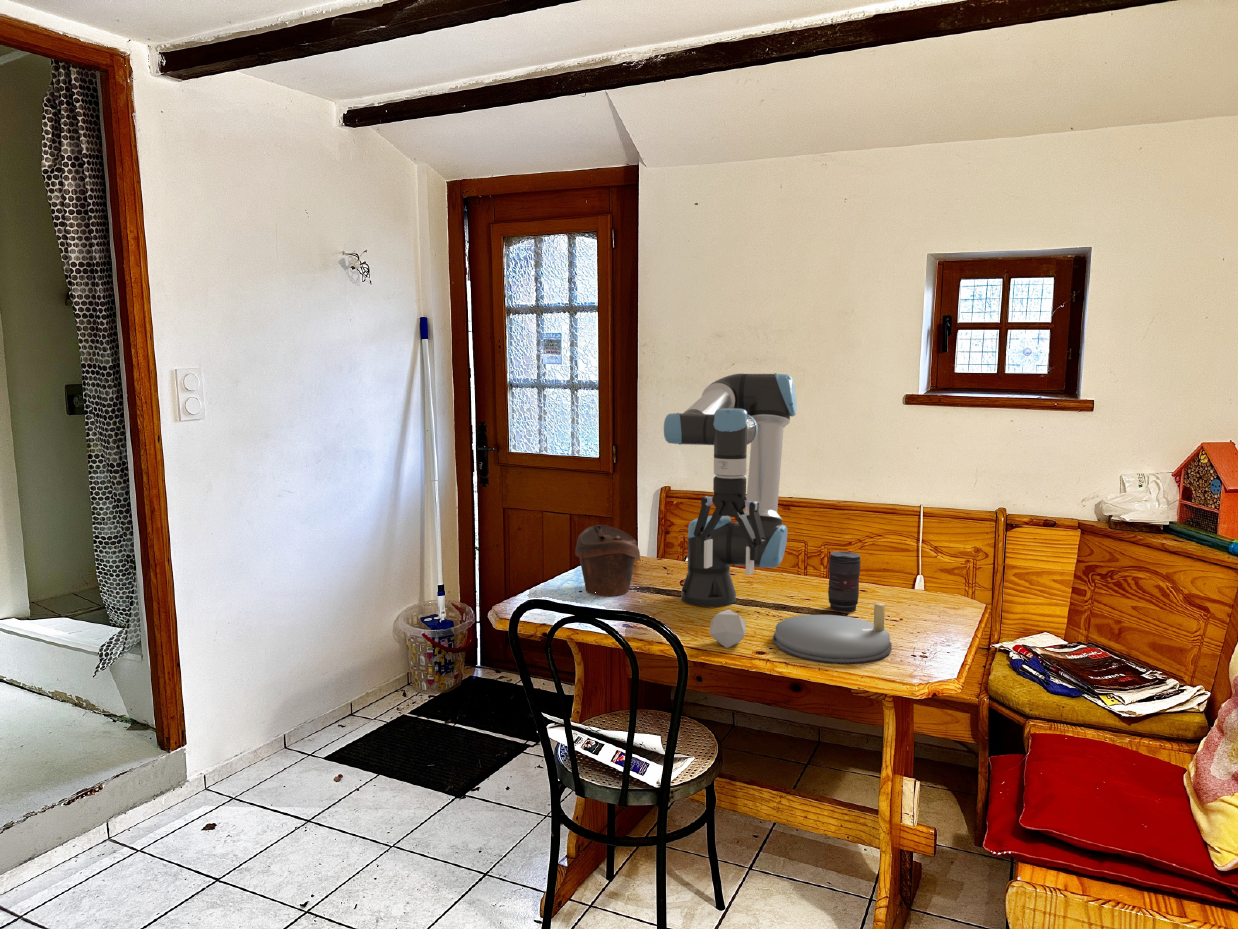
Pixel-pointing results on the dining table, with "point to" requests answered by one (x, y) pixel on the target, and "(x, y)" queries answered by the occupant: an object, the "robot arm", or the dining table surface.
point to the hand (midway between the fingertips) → (728, 570)
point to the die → (727, 628)
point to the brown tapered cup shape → (606, 560)
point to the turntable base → (832, 660)
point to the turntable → (835, 635)
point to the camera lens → (844, 581)
